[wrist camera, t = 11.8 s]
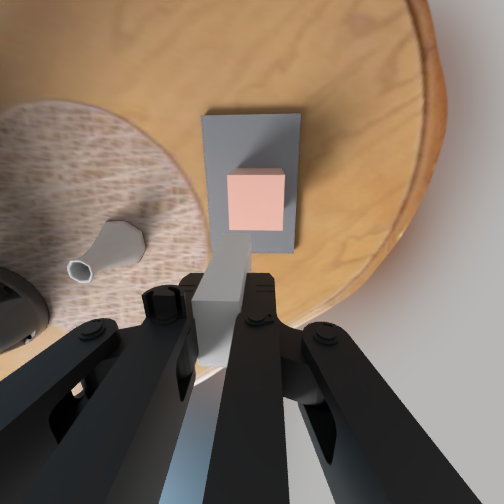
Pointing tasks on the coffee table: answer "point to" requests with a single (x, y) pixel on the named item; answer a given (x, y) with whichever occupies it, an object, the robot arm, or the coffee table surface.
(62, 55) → the coffee table surface
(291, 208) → the post board
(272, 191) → the pink upright block
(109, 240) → the flask
